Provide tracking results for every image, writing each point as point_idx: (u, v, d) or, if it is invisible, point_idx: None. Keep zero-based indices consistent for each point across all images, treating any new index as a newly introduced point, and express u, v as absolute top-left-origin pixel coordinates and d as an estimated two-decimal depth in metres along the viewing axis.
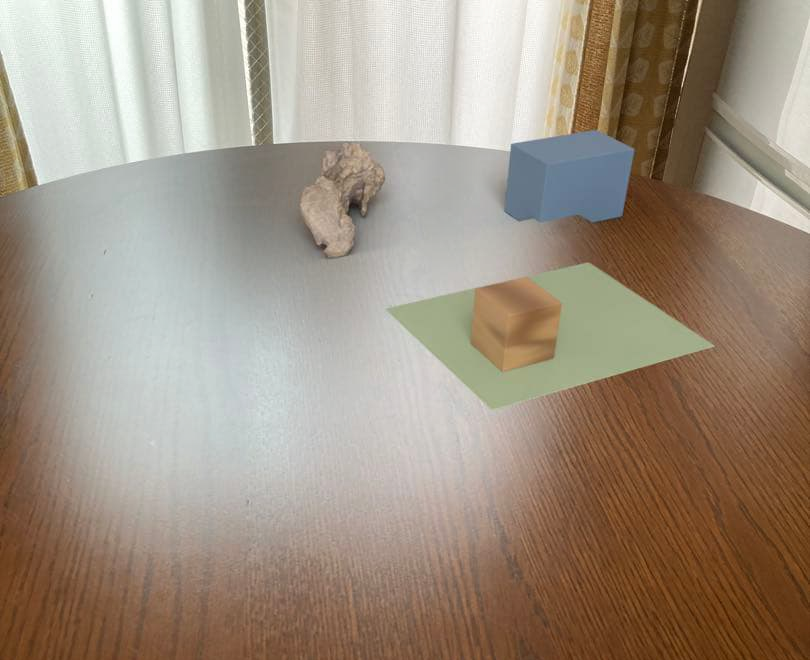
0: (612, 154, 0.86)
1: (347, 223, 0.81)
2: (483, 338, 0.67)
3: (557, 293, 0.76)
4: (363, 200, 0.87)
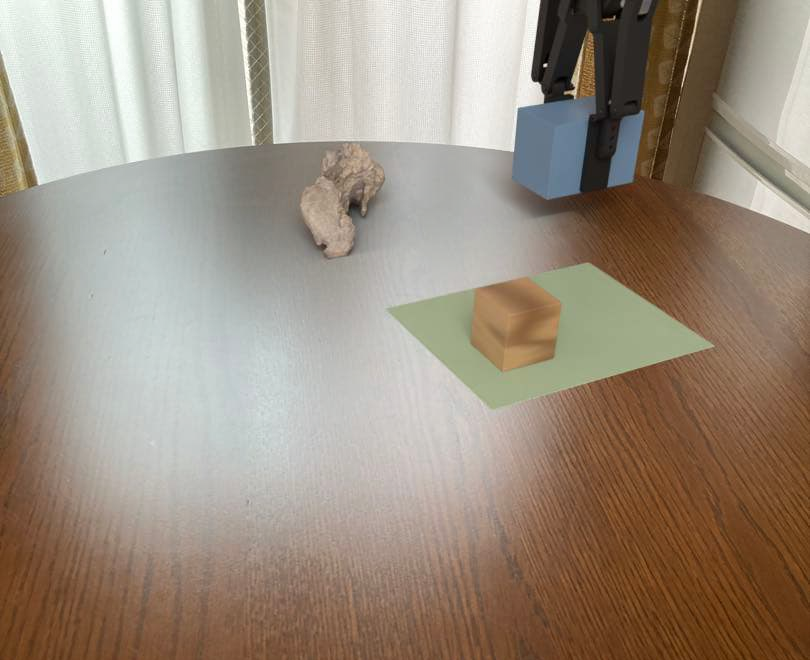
0: None
1: (347, 223, 0.81)
2: (483, 338, 0.67)
3: (557, 293, 0.76)
4: (363, 200, 0.87)
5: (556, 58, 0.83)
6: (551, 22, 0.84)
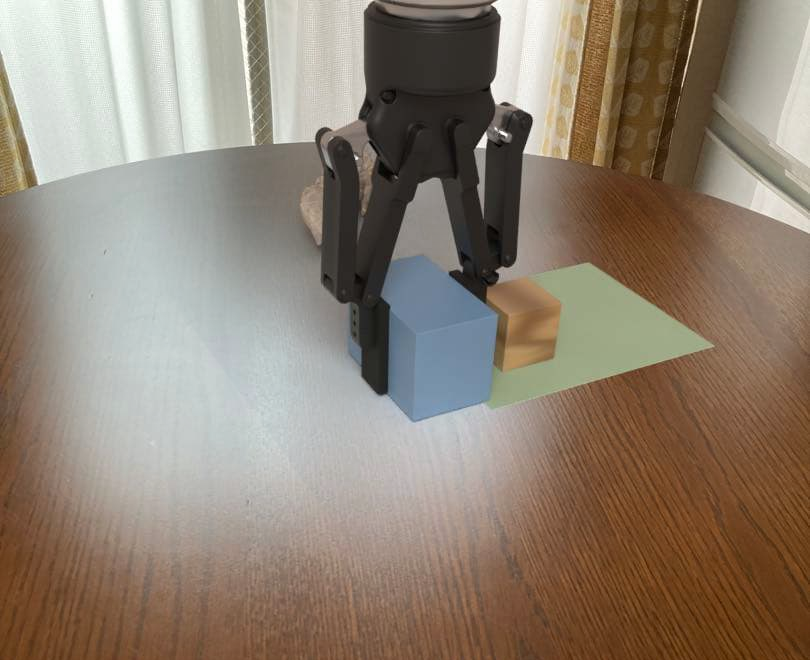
0: (396, 318, 0.58)
1: None
2: None
3: (557, 293, 0.76)
4: (363, 200, 0.87)
5: None
6: (490, 183, 0.59)
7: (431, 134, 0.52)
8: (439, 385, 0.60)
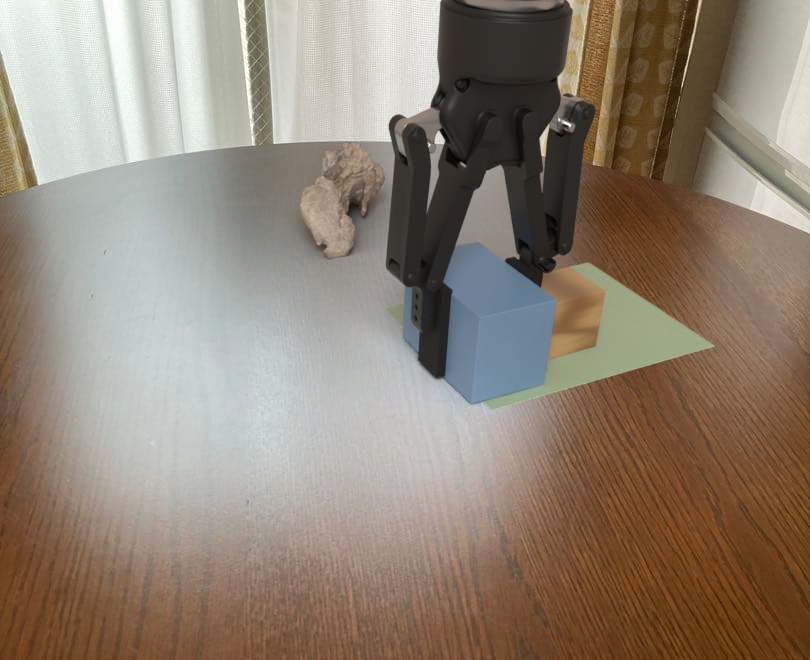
0: (459, 302, 0.60)
1: (347, 223, 0.81)
2: None
3: None
4: (363, 200, 0.87)
5: None
6: (550, 173, 0.61)
7: (501, 122, 0.54)
8: (497, 368, 0.62)
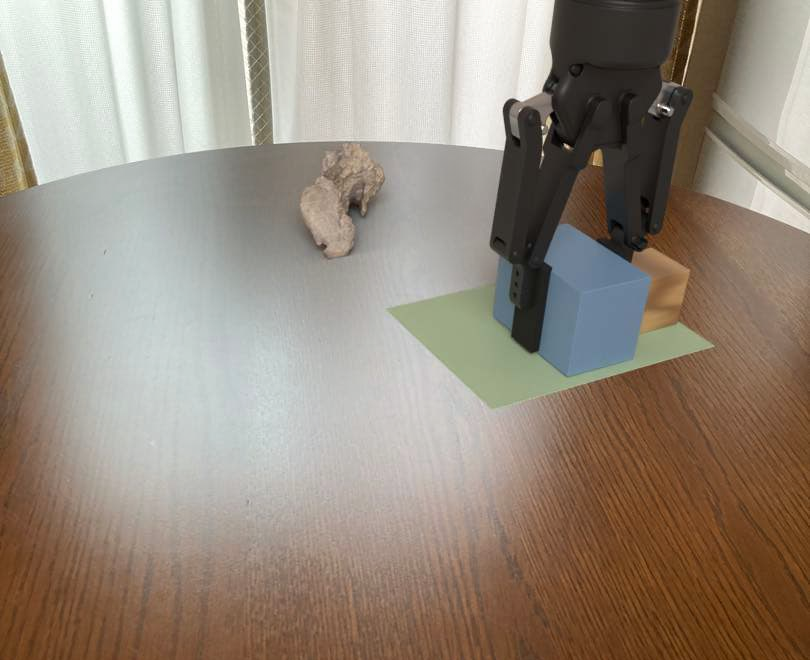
0: (559, 279, 0.63)
1: (347, 223, 0.81)
2: None
3: None
4: (363, 200, 0.87)
5: (606, 192, 0.65)
6: (644, 155, 0.64)
7: (610, 106, 0.57)
8: (593, 342, 0.65)
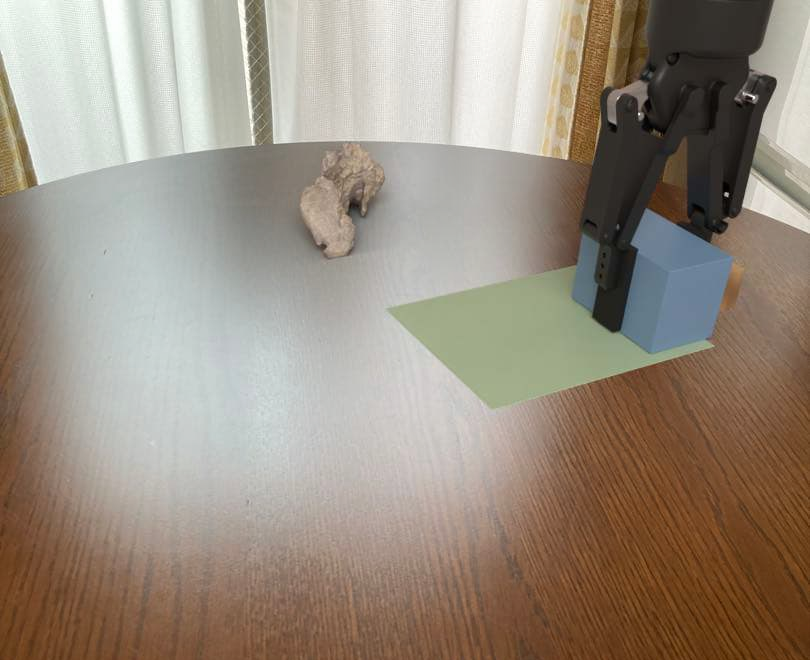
0: (645, 259, 0.66)
1: (347, 223, 0.81)
2: None
3: (557, 293, 0.76)
4: (363, 200, 0.87)
5: None
6: (726, 142, 0.67)
7: (702, 93, 0.60)
8: (677, 320, 0.68)
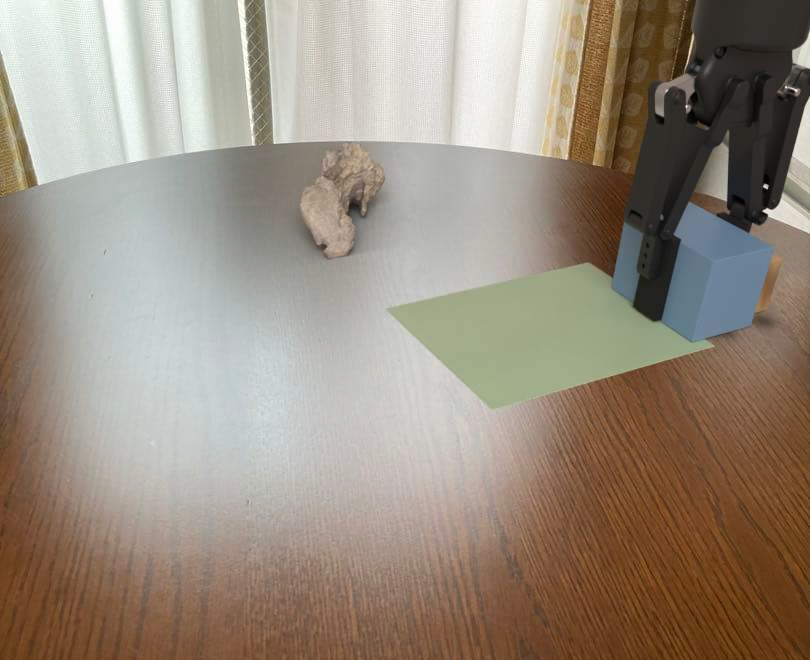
0: (688, 249, 0.67)
1: (347, 223, 0.81)
2: None
3: (557, 293, 0.76)
4: (363, 200, 0.87)
5: (729, 169, 0.69)
6: (767, 134, 0.68)
7: (748, 86, 0.61)
8: (718, 309, 0.69)
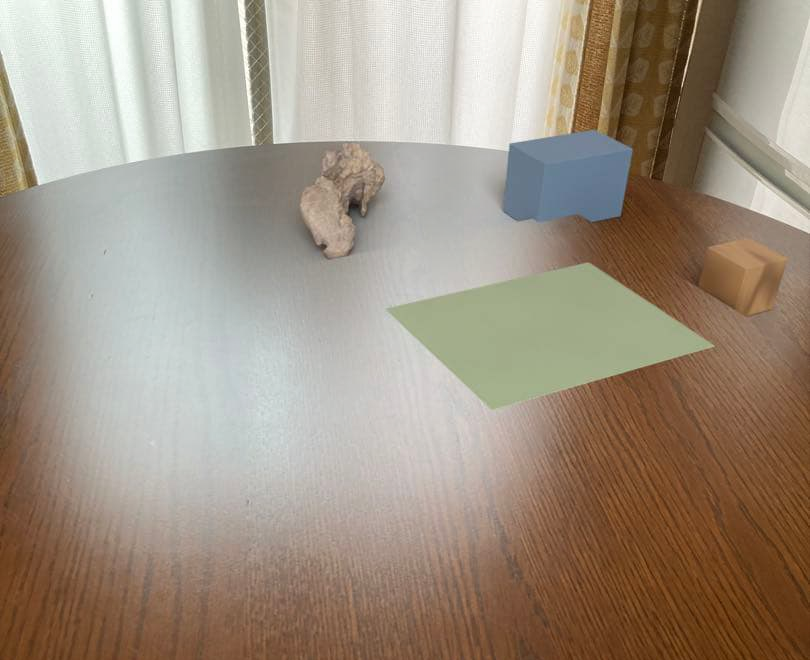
0: (611, 154, 0.86)
1: (347, 223, 0.81)
2: (733, 251, 0.75)
3: (557, 293, 0.76)
4: (363, 200, 0.87)
5: None
6: None
7: None
8: None
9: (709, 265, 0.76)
